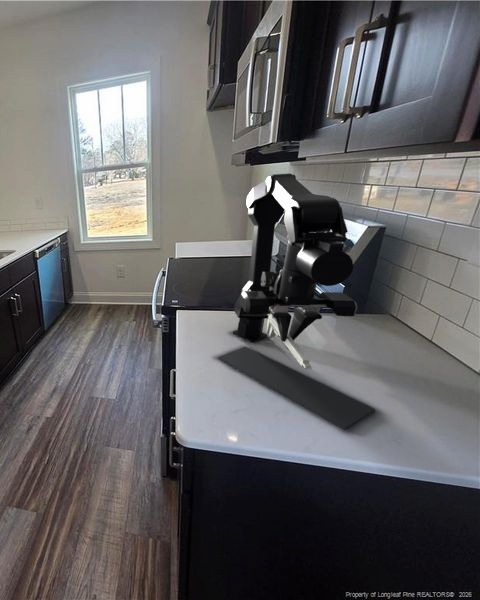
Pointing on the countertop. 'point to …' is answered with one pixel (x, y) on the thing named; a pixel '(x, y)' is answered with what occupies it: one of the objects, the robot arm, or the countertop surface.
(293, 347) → the caliper
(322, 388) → the mat
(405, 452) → the countertop surface
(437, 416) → the countertop surface
